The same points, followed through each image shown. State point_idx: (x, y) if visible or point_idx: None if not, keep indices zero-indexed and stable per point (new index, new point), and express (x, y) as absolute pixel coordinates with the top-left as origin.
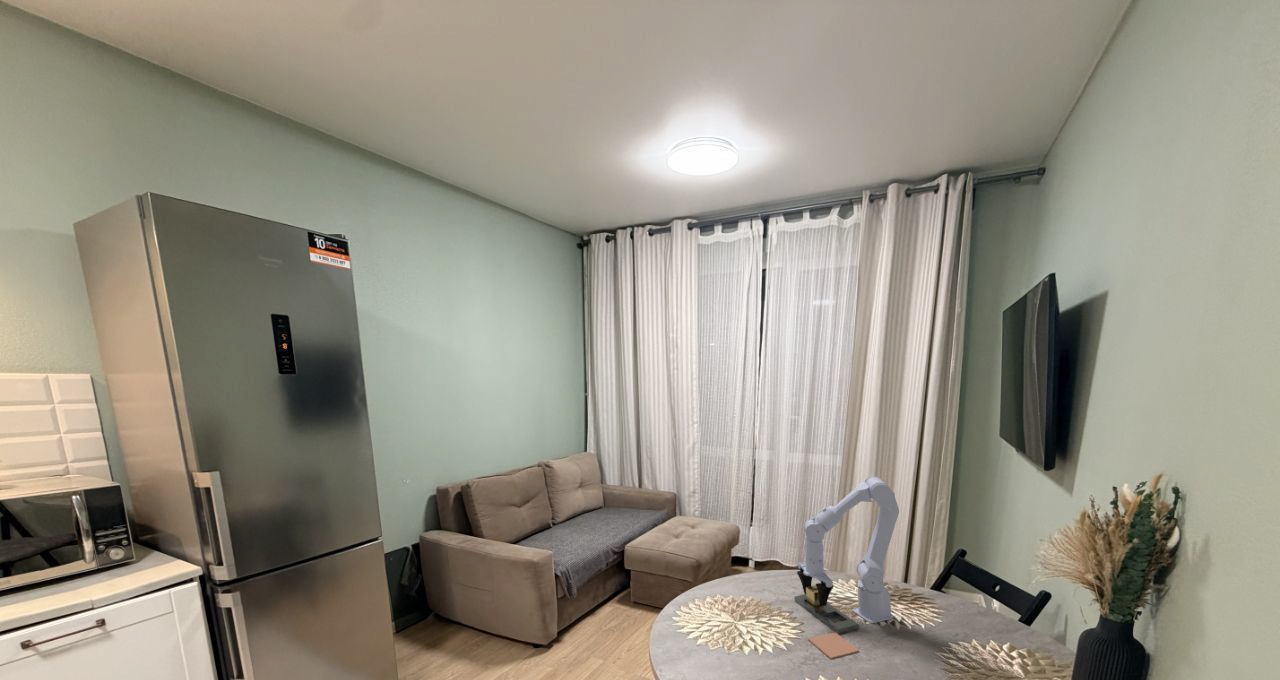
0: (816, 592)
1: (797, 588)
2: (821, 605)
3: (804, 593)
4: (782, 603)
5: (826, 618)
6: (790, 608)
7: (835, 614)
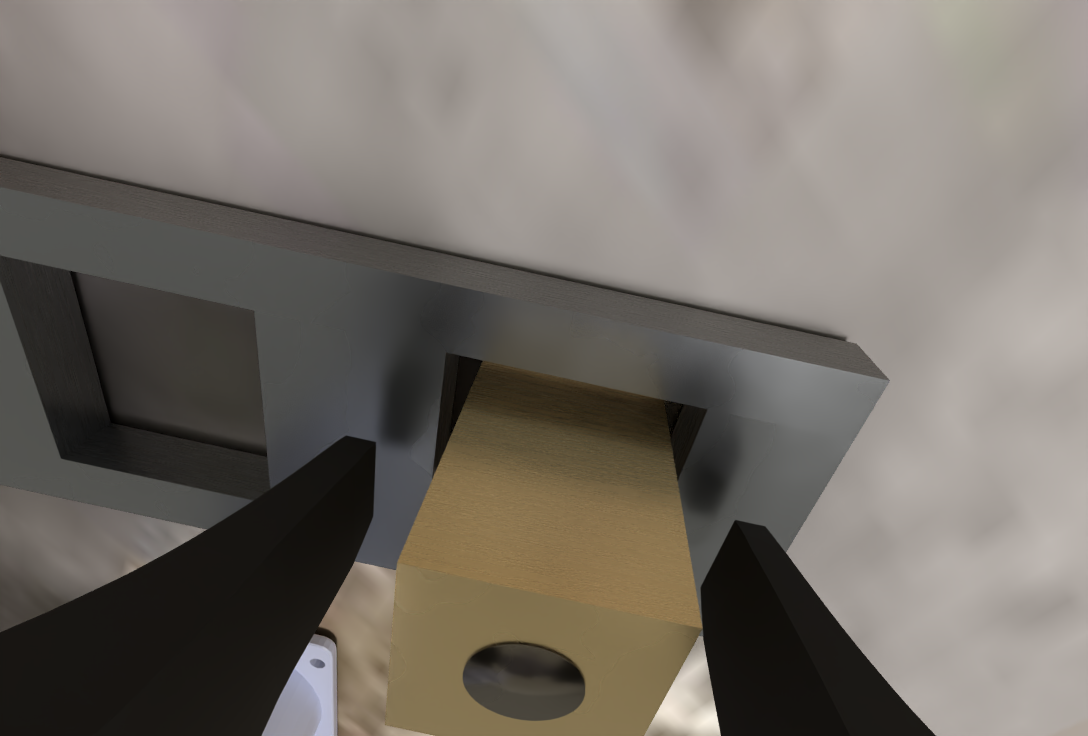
0: (397, 606)
1: (990, 615)
2: (341, 440)
3: (764, 528)
4: (1007, 92)
5: (128, 256)
6: (787, 86)
7: None
